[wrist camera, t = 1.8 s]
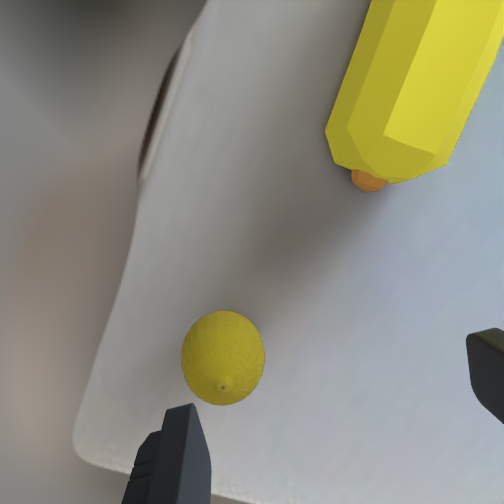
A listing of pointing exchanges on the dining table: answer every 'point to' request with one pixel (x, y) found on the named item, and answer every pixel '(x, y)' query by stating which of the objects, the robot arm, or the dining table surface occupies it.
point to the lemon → (222, 357)
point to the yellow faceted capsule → (412, 86)
